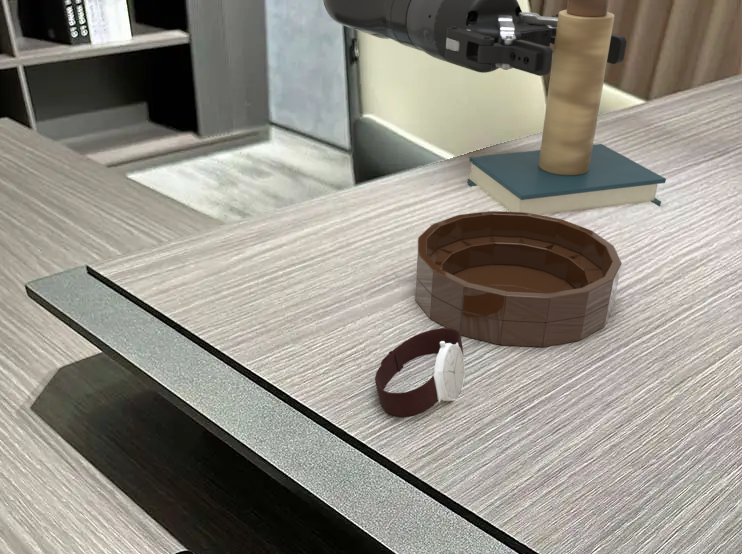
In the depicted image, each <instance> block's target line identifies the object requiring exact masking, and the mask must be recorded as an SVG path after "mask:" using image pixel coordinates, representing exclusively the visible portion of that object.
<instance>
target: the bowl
mask: <svg viewBox="0 0 742 554" xmlns="http://www.w3.org/2000/svg"><path fill="white" fill-rule="evenodd" d="M416 247H417V248H416V265H415V282H414V284H415V285H414V299H415V300H414V301H415V302H416V303H417V304H418V306H419V307H420V309H422V311H423V312H424V313H425V314H426V315H427V317H428V318H429V319H430V320H432V321H433V322H436V323H438V324H439V325H442V326H443V327H444V328H451V329H455V330H457V331H458V332H459V333H460V334H461V336H464V337H466V338H472V339H475V340H479V341H483V342H487V343H491V344H494V345H498V346H499V345H501V346H519V347H537V348H545V347H550V346H557V345H561V344H567V343H575V342H579V341H581V340H583V339H585V338H587V337H588V336H591V335H592V334H594V333H596V332H597V331H600V330H601V329H603V328H604V327H606V324H607V321H608V320H609V318H610V316H611V314H612V311H613V309H614V304H615V300H616V294H617V289H618V284H619V279H620V274H621V269H622V265H623V264H622V263H623V262H622V261H621V258H620V256H619V255H618V252H617V250H616V247H615V246H614V245H613V244H612V243H610V242H609V241H607V240H606V239H605V238H603V237H602V236H601V235H599V234H598V233H596V232H595V231H594V230H591V229H589V228H587V227H584V226H581V225H578V224H575V223H573V222H571V221H568V220H565V219H561V218H559V217H558V218H557V217H553V216H546V215H543V214H542V215H537V214H531V213H525V212H511V211H500V210H499V211H497V210H491V211H490V210H488V211H480V212H472V213H462V214H457V215H454V216H451V217H449V218H445V219H443V220H440V221H438V222H437V221H436V222H435V223H432V224H431V225H430V226H429V227H428V228H427V229H426V230H425V231H423V232H422V234H420V235H419V236H418V237H417V245H416Z"/></svg>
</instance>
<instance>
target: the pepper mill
mask: <svg viewBox="0 0 742 554" xmlns="http://www.w3.org/2000/svg"><path fill="white" fill-rule="evenodd" d="M609 4H610V0H567V7H566V9H563V10H559V12H558V14H559V15H558V23H557V30H556V38H555V45H554V44H553V45H554V46H553V51H554V53H553V59H552V61H551V68H550V76H549V83H548V91H547V98H546V105H545V111H544V112H545V113H544V121H543V127H542V135H541V143H540V149H539V150H540V157H539V167H540V168H541V169H542V170H544V171H546V172H549V173H553V174H558V175H580V174H584V173H586V172H588V170H589V166H590V160H591V154H592V148H593V145H594V142H595V136H596V131H597V123H598V118H599V111H600V105H601V99H602V93H603V87H604V81H605V75H606V70H607V65H608V62H607V58H608V52H609V46H610V40H611V34H613V29H614V22H615V14H614V13H612V12H609V6H610V5H609Z"/></svg>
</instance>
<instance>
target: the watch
mask: <svg viewBox="0 0 742 554" xmlns="http://www.w3.org/2000/svg"><path fill="white" fill-rule="evenodd" d="M434 354H436V356H435V363H434V369H433V374H432V376H431V377H430V378H429V380H427V381H426V382H425V383H423V384H422V385H421V386H418V387H416V388H414V389H411V390H407V391H405V392H389V391H386V390H385V389H386V387H387V385H388V384H389V383H390V382H391V380H392V379H393V378H394V377H395V376H396V374H398V373H400V372H401V371H402V370H403V369H404V365H406V364H407V363H409V362H411V361H412V360H415V359H417V358H420V357H422V356H426V355H434ZM465 366H466V365H465V358H464V347H463V342H462V335H461V334H460V333H459V332H458V331H457V330H455V329H451V328H447V327H441V328H435V329H430V330H426V331H423V332H420V333H418V334H416V335H414V336H412V337H410V338H408V339H407V340H405V341H403V342H402V343H401V344H399V345H398V346H396V347H395V348H393V349H392V350H390V351H389V352H388V354H387V355H386V356H384V357H383V358H382V360H381V362H380V366H379V367H378V369H377V371H376V373H375V375H374V383H375V387H376V392H377V396H378V400H379V403H380V406H381V408H382V409H383V411H384V412H385V413H386V414H387V415H388V416H390V417H393V418H399V419H406V418H412V417H416V416H418V415H420V414H424V413H425V412H427V411H428V410H430V409H431V408H433V407H434V406H435V405H436V404H437V403H438V404H440V403H441V401H443V402H450V401H456V399H457V398H458V397H459V395H460V394H461V392H462V391H463V388H464V384H465V376H466V368H465Z"/></svg>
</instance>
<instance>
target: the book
mask: <svg viewBox="0 0 742 554" xmlns="http://www.w3.org/2000/svg"><path fill="white" fill-rule="evenodd" d="M540 150H541V149H537V150H536V149H535V150H526V151H518V152H507V153H497V154H487V155H477V156H469V158H468V162H469V163H471V164H470V175H469V178H467V179H466V180H467V181H466V183H467V184H468V185H469V186H470V187H479V188H480V189H481V190H483V191H484V192H485V193H486V194H488V195H489V196H490V197H491V198H492V199H494V200H495V201H496V202H498V203H499V204H500V205H502V206H503V207H504V208H506V209H507V210H508V212H525V213H531V214H537V215H542V216H543V215H548V214H549V215H550V214H557V213H565V212H572V211H580V210H588V209H589V210H590V209H597V208H604V207H612V206H620V205H628V204H636V203H644V202H651V203H652V204H654V205H656V206H658V207H660V206H661V203H662V201H661V200H660V199H658V198H656V195H657V189H658V185H659V184H665V183H666V181H667V178H665V177H664V176H662V175H660V174H658V173H656V172H654V171H653V170H651V169H650V168H647V167H645V166H644V165H641V164H640V163H638V162H636V161H634V160H632V159H630V158H629V157H627V156H625V155H624V154H621V153H619V152H617V151H616V150H614V149H612V148H610V147H608V146H606V145H604V144H602V143H595V144H593V148H592V154H591V160H590V166H589V170H588V172H586V173H584V174H580V175H558V174H553V173H549V172H546V171H544V170H542V169H541V168H540V167H539V157H540Z"/></svg>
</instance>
